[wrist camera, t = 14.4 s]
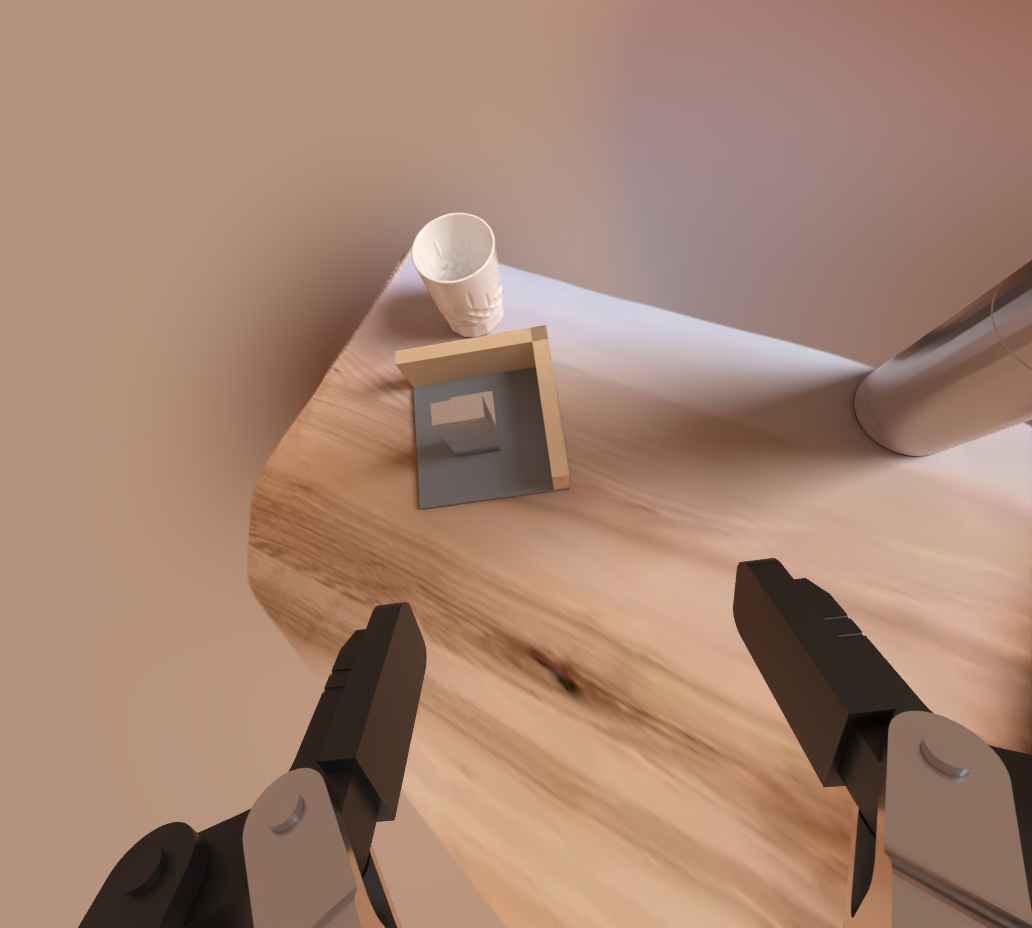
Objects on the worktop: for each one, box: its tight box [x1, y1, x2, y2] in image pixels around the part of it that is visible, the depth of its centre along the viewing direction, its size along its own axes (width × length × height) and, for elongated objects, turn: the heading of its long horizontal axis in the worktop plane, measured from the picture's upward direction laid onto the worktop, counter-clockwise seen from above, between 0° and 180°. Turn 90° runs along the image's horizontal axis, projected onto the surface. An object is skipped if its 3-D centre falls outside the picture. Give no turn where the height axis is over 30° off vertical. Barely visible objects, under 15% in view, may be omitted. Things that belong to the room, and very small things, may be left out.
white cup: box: [412, 213, 504, 337], centre depth 45 cm, size 8×8×10 cm
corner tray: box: [395, 325, 569, 510], centre depth 43 cm, size 15×15×6 cm
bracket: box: [431, 391, 501, 457], centre depth 41 cm, size 4×6×9 cm
